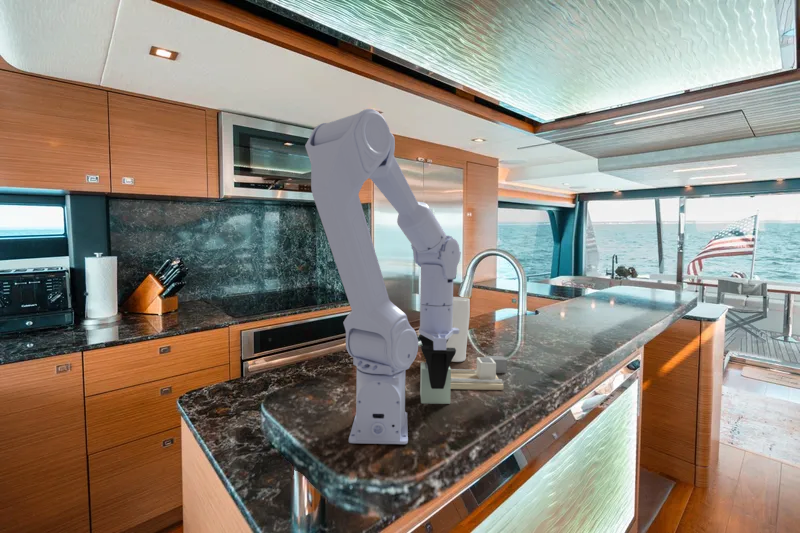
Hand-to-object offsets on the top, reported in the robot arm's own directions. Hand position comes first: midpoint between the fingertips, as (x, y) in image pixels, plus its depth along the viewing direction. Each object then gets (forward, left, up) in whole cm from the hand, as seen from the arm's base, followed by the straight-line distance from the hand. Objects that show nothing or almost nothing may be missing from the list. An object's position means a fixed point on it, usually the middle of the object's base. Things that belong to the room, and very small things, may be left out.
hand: (435, 380), depth 67 cm
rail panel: (+9, -6, -3) cm, 11 cm away
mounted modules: (+9, -6, -2) cm, 11 cm away
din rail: (+9, -6, -3) cm, 11 cm away
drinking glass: (+25, -7, -4) cm, 26 cm away
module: (0, 0, -3) cm, 3 cm away
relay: (+17, -15, -4) cm, 23 cm away
